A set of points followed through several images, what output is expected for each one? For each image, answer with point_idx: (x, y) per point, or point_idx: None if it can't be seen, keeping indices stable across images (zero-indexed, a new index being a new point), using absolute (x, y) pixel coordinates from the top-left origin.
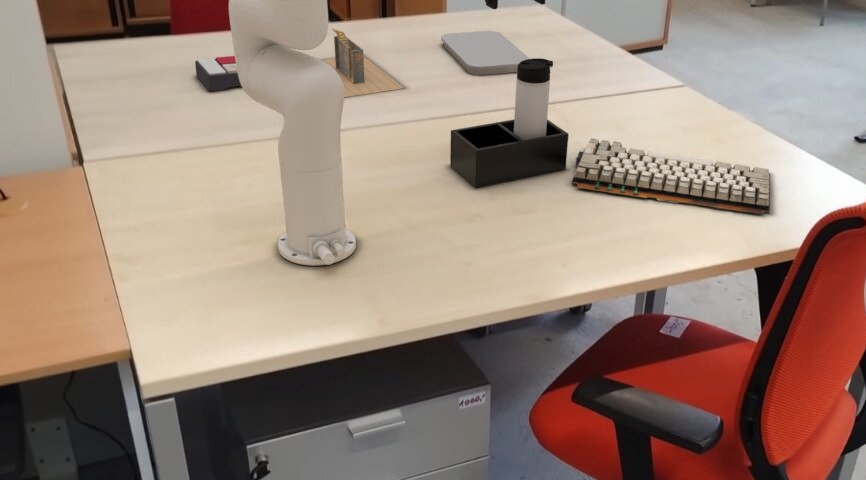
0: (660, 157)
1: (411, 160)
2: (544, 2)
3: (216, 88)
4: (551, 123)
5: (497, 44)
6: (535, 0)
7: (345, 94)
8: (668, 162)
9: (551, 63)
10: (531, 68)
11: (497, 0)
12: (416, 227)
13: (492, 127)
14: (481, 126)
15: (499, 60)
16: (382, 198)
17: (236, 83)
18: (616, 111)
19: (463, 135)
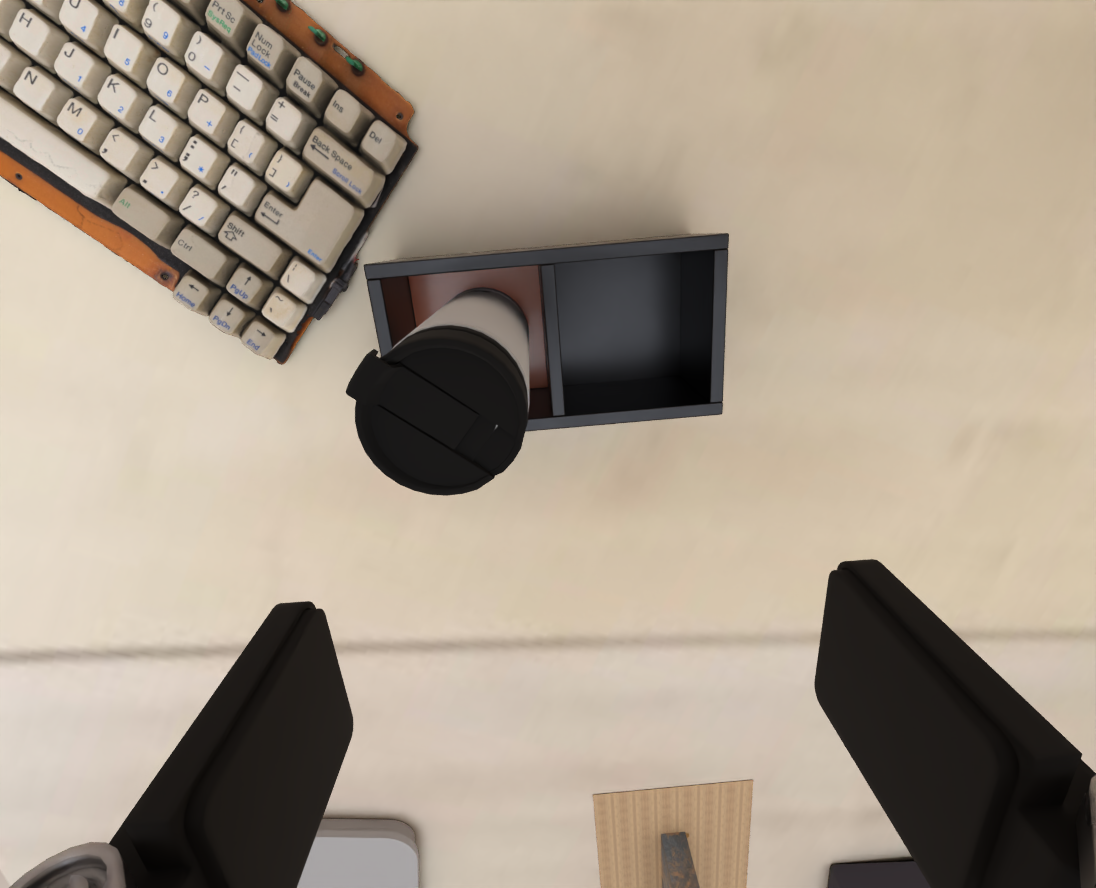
0: (67, 145)
1: (759, 448)
2: (280, 609)
3: None
4: None
5: None
6: (344, 697)
7: (726, 792)
8: (48, 94)
9: (366, 361)
10: (477, 379)
11: (884, 615)
12: (957, 49)
13: (580, 411)
14: (620, 412)
15: (331, 858)
16: (936, 263)
17: (915, 867)
18: (110, 566)
19: (679, 400)
